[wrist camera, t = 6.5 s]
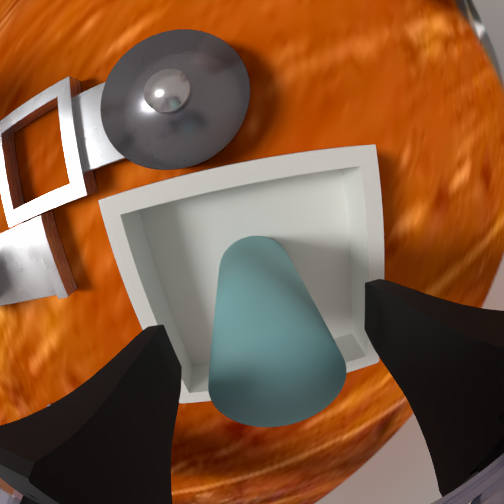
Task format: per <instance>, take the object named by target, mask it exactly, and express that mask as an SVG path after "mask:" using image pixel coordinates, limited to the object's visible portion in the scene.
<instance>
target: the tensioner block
mask: <svg viewBox="0 0 504 504" xmlns="http://www.w3.org/2000/svg"><path fill="white" fill-rule="evenodd" d="M249 99H250V83H249V76H248V73H247V70H246V67H245V65H244V63H243V61H242V59H241V58H240V56H239V55H238V54H237V52H236V51H235V50H234V49H233V48H232V47H231V46H230V45H228V44H227V43H226V42H225V41H223V40H221V39H220V38H218V37H216V36H214V35H211V34H209V33H205V32H202V31H197V30H172V31H167V32H163V33H159V34H156V35H154V36H151V37H149V38H147V39H145V40H143V41H141V42H140V43H138V44H137V45H135V46H134V47H132V48H131V49H130V50H129V51H128V52H126V53H125V54H124V55H123V56H122V57H121V58H120V60H119V61H118V62H117V63H116V65H115V66H114V68H113V69H112V71H111V72H110V74H109V76H108V78H107V80H106V82H104V83H102V84H100V85H97V86H95V87H93V88H91V89H89V90H86V91H84V92H82V93H81V83H80V81H79V80H77V79H74V78H72V77H70V76H69V77H67V78H65V79H63V80H61V81H59V82H58V83H56V84H54V85H52V86H51V87H49V88H47V89H46V90H44V91H43V92H41V93H39V94H38V95H36V96H35V97H33V98H32V99H30V100H29V101H27V102H26V103H24V104H23V105H21V106H20V107H18V108H17V109H16V110H14V111H13V112H12V113H10V114H9V115H8V116H6V117H5V118H4V119H2V120H1V121H0V191H1V196H2V201H3V206H4V210H5V214H6V218H7V222H8V226H9V228H10V227H12V226H14V225H16V224H19V223H21V222H23V221H26V220H28V219H30V218H32V217H34V216H37V215H39V214H41V213H44V212H46V211H48V210H51V209H53V208H56V207H58V206H61V205H63V204H66V203H68V202H71V201H74V200H76V199H79V198H82V197H84V196H87V195H90V194H93V193H95V192H98V189H97V185H96V181H95V176H94V172H93V171H94V170H96V169H99V168H102V167H105V166H107V165H110V164H113V163H116V162H119V161H122V160H125V159H128V160H129V161H131V162H133V163H135V164H137V165H140V166H143V167H146V168H151V169H159V170H171V169H180V168H185V167H191V166H194V165H197V164H200V163H202V162H205V161H207V160H209V159H211V158H212V157H214V156H216V155H217V154H218V153H220V152H221V151H222V150H223V149H224V148H225V147H226V146H228V145H229V144H230V142H231V141H232V140H233V139H234V137H235V136H236V135H237V133H238V131H239V130H240V128H241V126H242V123H243V121H244V118H245V115H246V112H247V108H248V105H249ZM57 106H58V109H59V119H60V127H61V135H62V142H63V148H64V154H65V160H66V165H67V170H68V175H69V180H70V184H68V185H66V186H63V187H61V188H59V189H56V190H54V191H52V192H50V193H48V194H45V195H43V196H41V197H39V198H37V199H35V200H33V201H31V202H29V203H26V204H25V202H24V198H23V193H22V188H21V183H20V178H19V172H18V166H17V160H16V152H15V144H14V133H15V132H16V131H18V130H19V129H21V128H22V127H24V126H25V125H27V124H29V123H30V122H32V121H33V120H35V119H36V118H38V117H40V116H41V115H43V114H45V113H46V112H48V111H50V110H52V109H53V108H55V107H57Z"/></svg>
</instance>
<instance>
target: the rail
mask: <svg viewBox="0 0 504 504" xmlns="http://www.w3.org/2000/svg"><path fill="white" fill-rule="evenodd" d="M77 288H78V287H77V284H76V282H75V279H74V277H73V274H72V272H71V269H70V266H69V263H68V261H67V258H66V255H65V252H64V249H63V246H62V243H61V240H60V236H59V233H58V230H57V226H56V223H55V219H54V215H53V212H52V211H51V212H48V213H45V214H43V215H40V216H38V217H36V218H33V219H31V220H29V221H27V222H25V223H23V224H20V225H18V226H16V227H14V228H12V229H10V230H8V231H6V232H3V233H1V234H0V306H2V305H7V304H12V303H17V302H22V301H27V300H32V299H38V298H43V297H48V296H53V295H57V296H58V299H60V298H66V297H69V296H70V295H71V294H72V293H73V292H74V291H75V290H76V289H77Z"/></svg>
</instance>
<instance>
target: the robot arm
mask: <svg viewBox="0 0 504 504" xmlns="http://www.w3.org/2000/svg"><path fill="white" fill-rule="evenodd" d="M364 330H365V332H366V334H367V336H368V338H369V340H370V342H371V344H372V346H373V348H374V350H375V351H376V353H377V354H378V356H379V357H380V359H381V360H382V362H383V363H384V365H385V366H386V368H387V369H388V370H389V372H390V373H391V375H392V376H393V378H394V379H395V381H396V382H397V384H398V385H399V387H400V388H401V390H402V391H403V393H404V395H405V396H406V398H407V400H408V402H409V404H410V406H411V408H412V410H413V412H414V414H415V416H416V418H417V421H418V423H419V426H420V428H421V430H422V433H423V435H424V438H425V440H426V443H427V446H428V449H429V452H430V455H431V458H432V462H433V465H434V469H435V473H436V477H437V481H438V487H439V491H440V493H441V495H442V498H440V499H439V500H437V501H435V502H434V503H432V504H468V503H469V502H471V501H472V500H473V499H474V500H473V501H472V502H471V504H504V311H499V310H489V309H482V308H477V307H472V306H467V305H462V304H458V303H454V302H451V301H447V300H444V299H440V298H437V297H434V296H431V295H428V294H425V293H422V292H419V291H416V290H413V289H411V288H408V287H405V286H402V285H399V284H396V283H393V282H390V281H387V280H383V279H377V280H373V281H370V282H366V283H365V322H364ZM181 378H182V366H181V364H180V362H179V360H178V357H177V355H176V353H175V351H174V348H173V346H172V344H171V341H170V339H169V337H168V334H167V332H166V329H165V327H164V324H162V325H155V326H148V327H147V328H146V329H144V330H143V331H142V332H141V333H140V334H138V335H137V336H136V337H135V338H134V339H133V340H132V341H131V342H130V343H129V344H128V345H127V346H126V347H125V348H123V349H122V350H121V351H120V352H119V353H118V354H117V355H116V356H115V357H114V358H113V359H112V360H111V361H110V362H108V363H107V364H106V365H105V366H104V367H103V368H102V369H100V370H99V371H98V372H97V373H96V374H95V375H94V376H92V377H91V378H90V379H89V380H87V381H86V382H85V383H84V384H82V385H81V386H79V387H78V388H77V389H75V390H74V391H72V392H71V393H70V394H68V395H66V396H65V397H63V398H61V399H60V400H58V401H56V402H55V403H53V404H51V405H50V404H49V405H48V406H47V407H46V408H44V409H42V410H40V411H38V412H36V413H34V414H32V415H29V416H27V417H25V418H22V419H20V420H17V421H14V422H11V423H8V424H5V425H1V426H0V478H2V479H3V480H4V481H5V482H6V483H8V484H9V485H10V486H11V487H13V488H14V489H15V491H14V493H13V495H11V494H10V493H8V492H6V491H5V490H3V489H2V488H0V504H172V494H171V447H172V439H173V433H174V427H175V421H176V416H177V410H178V404H179V399H180V393H181Z"/></svg>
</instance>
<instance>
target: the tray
mask: <svg viewBox="0 0 504 504" xmlns="http://www.w3.org/2000/svg"><path fill="white" fill-rule="evenodd" d="M98 202H99V206H100V209H101V213H102V217H103V220H104V224H105V227H106V231H107V234H108V237H109V241H110V244H111V247H112V250H113V253H114V256H115V259H116V262H117V265H118V268H119V271H120V274H121V276H122V279H123V282H124V285H125V287H126V290H127V293H128V295H129V298H130V300H131V303H132V305H133V308H134V310H135V313H136V315H137V317H138V320H139V322H140V324H141V327H142V329H143V330H144V329H146V328H147V327H148V326H155V325H162V324H164V327H165V329H166V332H167V334H168V337H169V339H170V341H171V344H172V346H173V348H174V351H175V353H176V355H177V357H178V360H179V362H180V364H181V366H182V378H181V393H180V399H179V403H192V402H202V401H211V399H210V396H209V392H208V380H209V368H210V356H211V345H212V334H213V323H214V313H215V303H216V293H217V284H218V275H219V266H220V261H221V258H222V256H223V254H224V253H225V251H226V250H227V249H228V248H229V247H230V246H231V245H232V244H233V243H234V242H236V241H238V240H240V239H242V238H245V237H249V236H263V237H267V238H270V239H272V240H274V241H276V242H278V243H279V244H280V245H281V246H282V247H283V248H284V249H285V251H286V252H287V254H288V256H289V258H290V259H291V261H292V263H293V265H294V266H295V268H296V270H297V272H298V274H299V275H300V277H301V279H302V281H303V283H304V285H305V286H306V288H307V290H308V292H309V294H310V296H311V297H312V299H313V301H314V303H315V305H316V307H317V308H318V310H319V312H320V314H321V316H322V318H323V320H324V321H325V323H326V325H327V327H328V329H329V331H330V333H331V335H332V337H333V338H334V340H335V342H336V344H337V346H338V348H339V350H340V352H341V354H342V356H343V358H344V360H345V363H346V368H347V371H346V373H347V372H350V371H354V370H357V369H360V368H363V367H366V366H369V365H372V364H375V363H378V362H379V356H378V354H377V353H376V351H375V350H374V348H373V346H372V344H371V342H370V340H369V338H368V336H367V334H366V332H365V330H364V322H365V283H366V282H370V281H373V280H377V279H383V280H384V226H383V209H382V196H381V185H380V176H379V167H378V159H377V152H376V145H360V146H347V147H337V148H328V149H320V150H312V151H305V152H298V153H291V154H284V155H278V156H272V157H266V158H261V159H255V160H250V161H244V162H239V163H234V164H229V165H225V166H220V167H215V168H211V169H206V170H202V171H198V172H193V173H189V174H185V175H181V176H177V177H173V178H170V179H166V180H162V181H158V182H155V183H151V184H148V185H144V186H141V187H137V188H134V189H130V190H127V191H124V192H121V193H118V194H115V195H112V196H109V197H106V198H104V199H101V200H98Z"/></svg>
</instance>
